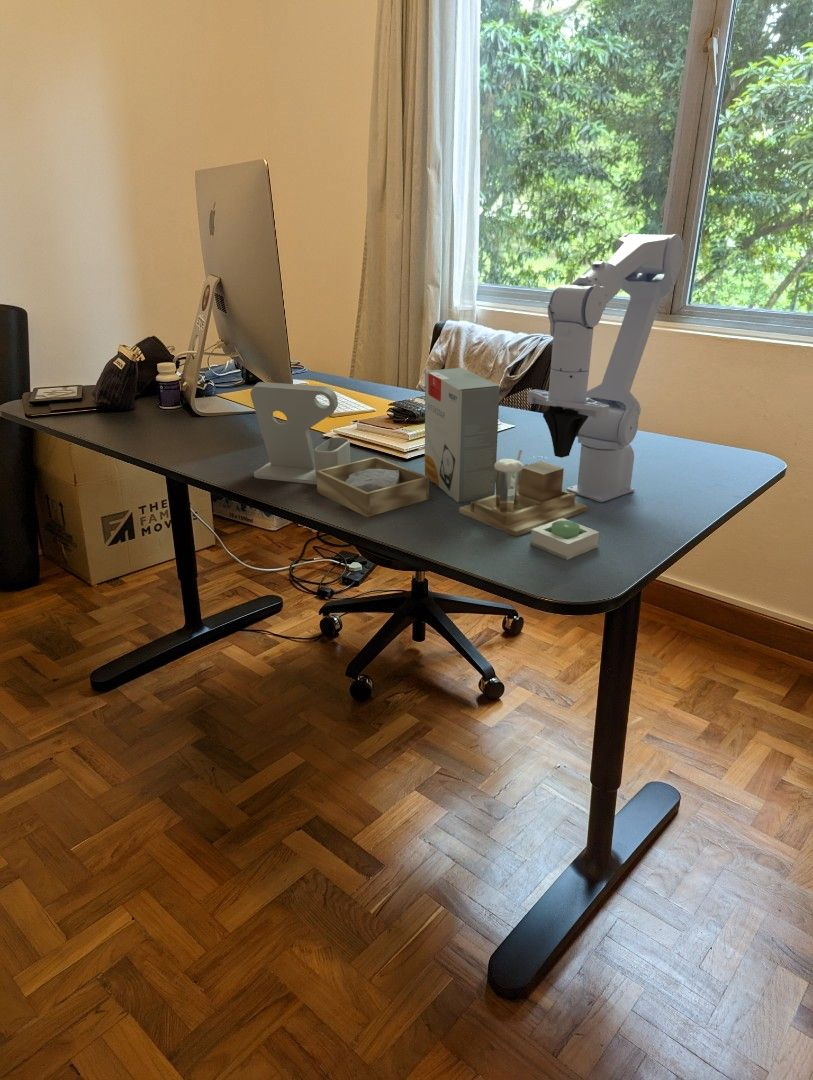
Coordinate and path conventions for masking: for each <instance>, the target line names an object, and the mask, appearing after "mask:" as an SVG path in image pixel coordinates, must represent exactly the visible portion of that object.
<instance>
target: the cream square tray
mask: <svg viewBox="0 0 813 1080" xmlns="http://www.w3.org/2000/svg"><path fill="white" fill-rule="evenodd" d="M556 521H571V522H573V521H572V520H569V519H568V518H566V519H564V518H561V519H559V520H556ZM556 521H553V522H550V523H547V524H545V525H542V526H539V527H536V528H534V529H531V531H530V545H531V546H533V547H534V548H537V549H539V550H543V551H545V552H547V553H549V554H552V555H554V556H556V557H558V558H560V559H563V560H565V561H568V560H570V559H573V558H575V557H578V556H581V555H582V554H585V553H588V552H590V551H593V550H594V549H598V548H599V538H600V531H597V530H595V529H593V528H590V527H587V526H584V525H582V524H579V523H577V524H578V525H579V526H580V528H579V535H577V536H575V537H572V538H569V539H565V538H562V537H560V536H557V535H555V534H553V533H551V531H552V524H553V523H554V522H556Z"/></svg>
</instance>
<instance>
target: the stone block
mask: <svg viewBox="0 0 813 1080" xmlns="http://www.w3.org/2000/svg"><path fill="white" fill-rule="evenodd" d="M345 482H346V483H348V484H350V485H352V486H355V487H357V488H359V489H361V490H363V491H365V492H371V491H375V490H378V489H382V488H386V487H389V486H393V485H397V484H400V471H399V470H386V469H385V470H384V469H367V470H364V471H360V472H357V473H353V474H351V475H349V478H348V479H347V480H346V481H345Z"/></svg>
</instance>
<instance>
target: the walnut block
mask: <svg viewBox="0 0 813 1080" xmlns="http://www.w3.org/2000/svg"><path fill="white" fill-rule="evenodd" d="M564 471H565V469H564V467H561V466H557V465H554V464H550V463H548V462H544V461H538V462H533V463H530V464H527V465H523V472H522V478H521V484H520V489H519V494H520V495H523V496H525V497H528V498H531V499H533V500H536V501H539V502H545V501H548V500H551V499H554V498H557V497H560V496H561V495H562V489H563V482H564V473H565V472H564Z"/></svg>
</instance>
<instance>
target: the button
mask: <svg viewBox="0 0 813 1080" xmlns="http://www.w3.org/2000/svg"><path fill="white" fill-rule="evenodd" d="M571 521H572V520H569V521H556V522H554V523H553V524H552V531H551V533H553V534H555V535H557V536H560V537H562V538H565V539H569V538H572V537H575V536H577V535H579V528H580V526H579V525H578V524H579V523H577V522H574V521H572V522H571Z"/></svg>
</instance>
